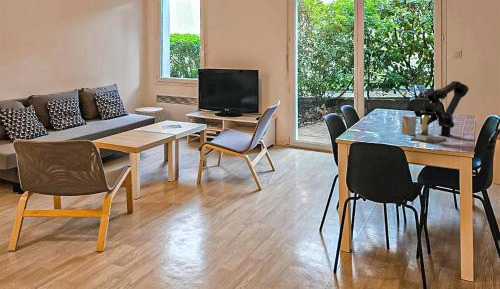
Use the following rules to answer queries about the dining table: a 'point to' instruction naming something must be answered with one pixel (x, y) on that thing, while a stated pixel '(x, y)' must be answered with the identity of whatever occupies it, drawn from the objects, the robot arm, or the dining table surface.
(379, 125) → the dining table surface
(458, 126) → the dining table surface
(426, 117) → the hinge pin
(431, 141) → the cabinet panel
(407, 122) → the small box
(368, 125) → the dining table surface
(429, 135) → the hinge clip
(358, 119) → the dining table surface
